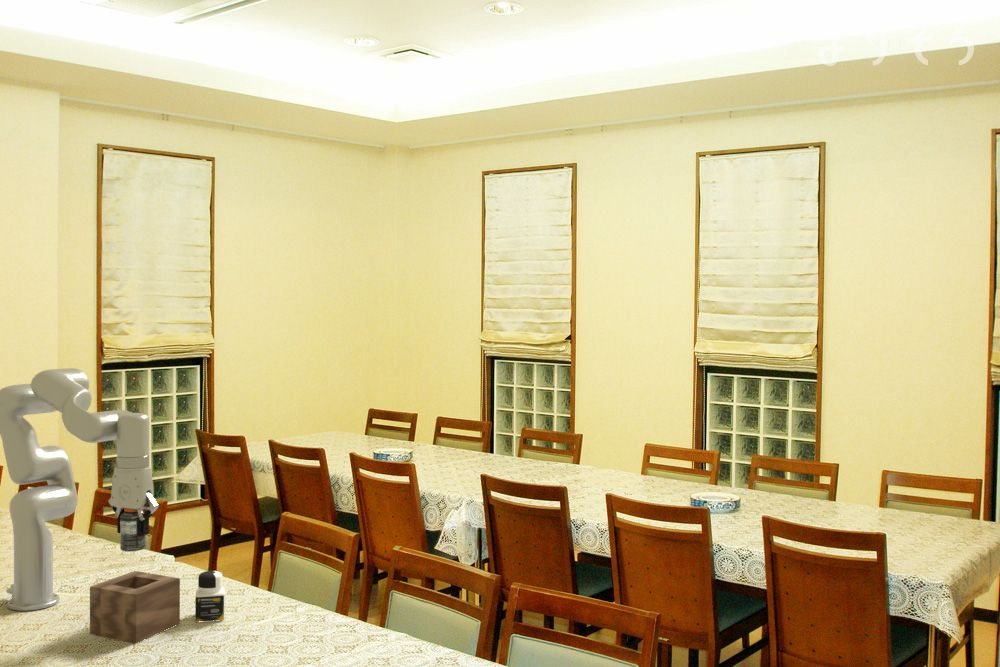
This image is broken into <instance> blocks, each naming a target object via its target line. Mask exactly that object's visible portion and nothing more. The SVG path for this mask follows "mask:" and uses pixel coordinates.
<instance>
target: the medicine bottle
mask: <svg viewBox="0 0 1000 667" xmlns="http://www.w3.org/2000/svg"><path fill="white" fill-rule="evenodd" d="M197 580H198V582H197V583H198V586H197V588H196V592H195V599H194V600H195V601H194V603H195V607H194V609H195V614H194V615H195V619H194V621H195V623H196V622H199V621H213V620H214V622H217V621H216V620H223V621H225V608H226V607H225V600H226V599H225V598H226V597H225V596H226V594H225V591H226V589H225V586H223V574H222V572H220V571H217V570H206V571H203V572H201V573H199V574H198V578H197Z"/></svg>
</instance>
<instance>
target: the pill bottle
mask: <svg viewBox="0 0 1000 667" xmlns="http://www.w3.org/2000/svg"><path fill="white" fill-rule="evenodd" d="M138 520H140V518H139V515H138V511H137V510H132V509H125V508H124V513H123V514H122V515H121V516H120V533H119V534H120V535H119V536H120V537H119V540H120V541H119V544H120V545H119V546H120V550H121V552H122V551H123V552H128V553H130V552H132V553H133V552H138V551H139V552H140V551H142V550H144V549H146V546H147V545H146V542H147V541H146V536H147V535H143V536H138Z"/></svg>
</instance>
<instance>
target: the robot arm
mask: <svg viewBox="0 0 1000 667" xmlns="http://www.w3.org/2000/svg"><path fill="white" fill-rule="evenodd" d="M89 388H90V381H89V378H88V376H87V374H86V373H85V372H84V371H82V370H81V369H79V368H74V367H73V368H71V367H69V368H54V369H53V368H51V369H45V370H42V371H39V372H38V373H37V374H35V375H34V377H32V379H31V382H30V383H20V384H14V385H13V384H12V385H9V386H5V387H2V388H0V437H1V442H2V447H3V452H4V457H5V462H6V466H7V470H8V475H9V478H10V480H11V481H12V482H13V483H14V484H16V485H29V484H34V483H40V482H46V483H47V485H41V486H37V487H32V488H27V489H24V490H21V491H19V492H17V493H15V494H14V495H13V496H12V497H11V499H10V501H9V514H10V518H11V525H12V530H13V534H12V535H13V583H12V584H11V585H10V587H7V588H6V590H5V591H6V593H7V594H11V598H10V599H8V601H7V608H8V609H10V610H12V611H21V612H22V611H23V612H24V611H26V612H28V611H36V610H37V611H38V610H42V609H45V608H46V609H47V608H50V607H53V606H54V605H56V604H58V602H59V601H60V596H59V595H58V594H57V593H54V542H53V541H54V540H53V539H54V538H53V534H52V533H51V531H50V529H49V528H48V526H47V525H46V522H49V521H53V520H57V519H61V518H65V517H68V516H71V515H72V514H74V512H75V511H76V509H77V507H78V503H79V502H78V499H79V498H78V491H77V487H76V483H75V482H76V481H75V479H74V478H75V477H74V472H73V469H72V464H71V460H70V457H69V455H68V453H67V452H66V450H64V449H63V447H61V446H58V445H46V446H41V445H40V443H39V441H38V437H37V436H38V435H37V431H36V430H35V427H34V426H33V425H32V424H31V423H30V421H28V420H27V419H26V418H24V416H28V415H38V414H39V415H41V414H48V413H54V412H57V411H58V413H60V414H61V419H62V423H63V425H64V427H65V429H66V430H67V431H68V433H70V434H71V435H73V436H74V437H76V438H77V439H79V440H81V441H83V442H85V443H90V444H96V443H103V442H110V441H117V442H116V443H117V444H116V457H115V461H116V466H115V468H114V471H113V475H112V481H111V482H112V483H111V491H110V492H111V494H110V498H109V499H108V504H109V505H110V506H111V508H112V510H113V512H114V516H115V517H116V518H117V522H116V524H117V525H116V527H117V528H116V532H117V534H120V516H121V515H122V514H123V513H124V508H125V509H132V510H137V511H138V515H139V518H140V520H138V536H143V535H145V536H147V535H149V533H150V519H151V518H152V516H153V515H154V513H155V512H156V511H157V510H158V508H159V506H160V505H159V504H158V503H157V501H156V499H155V498H154V484H153V474H152V469H151V467H150V417H149V415H148V414H146V413H142V412H131V411H129V410H126V409H114V410H107V411H97V412H89V411H88V410H89V409H90V406H91V404H92V394H91V392H90V390H89Z"/></svg>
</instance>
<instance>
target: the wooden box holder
mask: <svg viewBox="0 0 1000 667" xmlns="http://www.w3.org/2000/svg"><path fill="white" fill-rule="evenodd" d="M180 601H181V578H180V577H175V576H174V577H173V576H168V575H162V574H157V573H149V572H144V571H139V570H137V571H136V570H133V571H131V572H128V573H125V574H122V575H119V576H117V577H113V578H111V579H108V580H105V581H102V582H100V583H96V584H94V585H90V586H89V635H92V636H97V637H101V638H106V639H111V640H116V641H120V640H121V641H120V642H126V643H130V642H131V643H132V644H135V643H137V644H139V643H141V642H144V641H145V640H144V639H146V640H148V639H150V638H152V637H151V636H153V635H155V634H157V633H159V634H161V633H160V632H162V631H164V630H166V629H168V628H171V627H173V626H175V625H177V626H179V625H178V624H180V622H181V614H180V611H181V610H180V609H181V608H180V607H181V602H180ZM180 625H181V624H180ZM175 627H176V626H175ZM173 628H174V627H173ZM171 629H172V628H171ZM168 630H169V629H168ZM166 631H167V630H166ZM164 632H165V631H164ZM162 633H163V632H162ZM157 635H158V634H157ZM155 636H156V635H155ZM149 637H150V638H149ZM153 637H154V636H153ZM147 638H148V639H147ZM143 640H144V641H143ZM140 641H141V642H140ZM138 642H139V643H138Z"/></svg>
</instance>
